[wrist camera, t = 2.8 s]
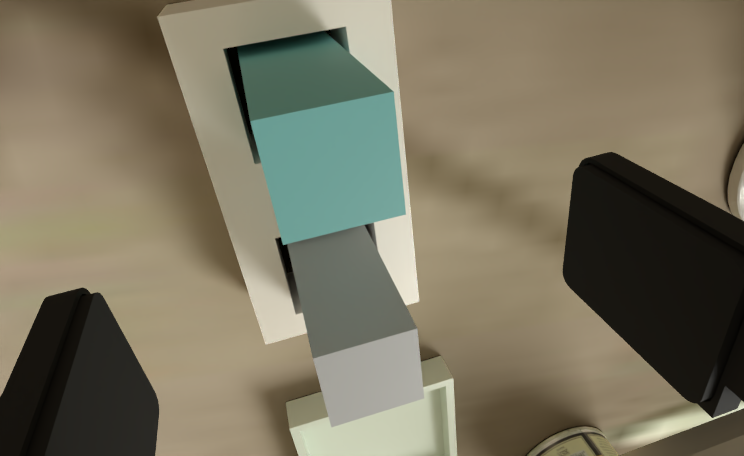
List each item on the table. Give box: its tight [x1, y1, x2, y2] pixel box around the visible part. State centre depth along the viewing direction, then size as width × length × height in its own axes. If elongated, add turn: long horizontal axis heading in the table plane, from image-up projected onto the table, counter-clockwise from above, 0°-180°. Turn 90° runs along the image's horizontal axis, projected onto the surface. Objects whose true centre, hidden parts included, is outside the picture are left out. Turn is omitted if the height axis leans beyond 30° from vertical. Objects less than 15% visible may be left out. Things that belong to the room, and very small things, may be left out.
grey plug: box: [287, 225, 424, 427], centre depth 24 cm, size 4×4×12 cm
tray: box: [286, 356, 457, 456], centre depth 39 cm, size 12×12×2 cm
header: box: [157, 0, 419, 344], centre depth 25 cm, size 17×9×4 cm, turn 7°
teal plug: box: [237, 31, 406, 245], centre depth 19 cm, size 4×4×12 cm
